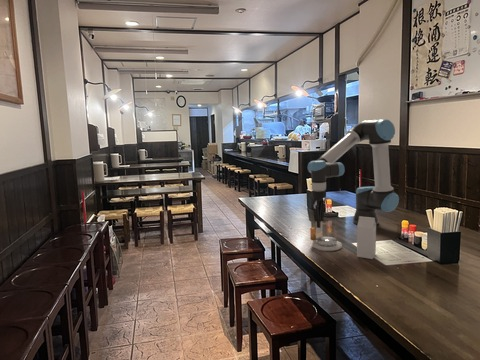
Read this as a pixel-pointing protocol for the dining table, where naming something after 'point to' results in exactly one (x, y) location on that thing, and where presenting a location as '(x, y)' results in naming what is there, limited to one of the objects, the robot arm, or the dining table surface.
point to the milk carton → (366, 237)
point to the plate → (324, 248)
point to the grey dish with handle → (322, 239)
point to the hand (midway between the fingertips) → (319, 232)
